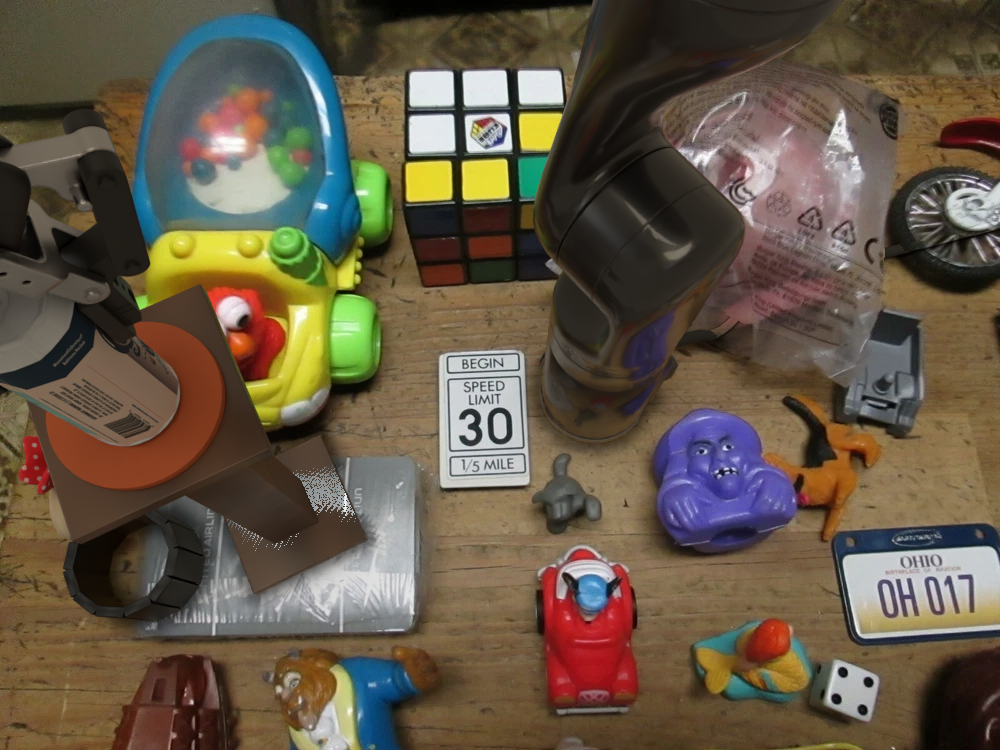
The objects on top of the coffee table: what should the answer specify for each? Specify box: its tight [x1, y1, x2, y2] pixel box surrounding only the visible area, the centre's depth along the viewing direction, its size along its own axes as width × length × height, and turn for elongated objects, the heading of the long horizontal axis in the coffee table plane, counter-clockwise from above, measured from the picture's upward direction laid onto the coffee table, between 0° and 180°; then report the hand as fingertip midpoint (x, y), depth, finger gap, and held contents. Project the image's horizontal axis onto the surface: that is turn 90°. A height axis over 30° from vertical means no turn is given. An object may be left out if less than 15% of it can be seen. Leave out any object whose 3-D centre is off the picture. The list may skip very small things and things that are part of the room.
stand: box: [25, 283, 369, 596], centre depth 56 cm, size 10×10×31 cm
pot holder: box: [46, 322, 225, 491], centre depth 41 cm, size 9×9×1 cm
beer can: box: [0, 289, 180, 446], centre depth 35 cm, size 5×5×12 cm
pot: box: [62, 508, 206, 623], centre depth 66 cm, size 9×9×6 cm
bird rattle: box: [17, 435, 73, 542], centre depth 67 cm, size 6×11×9 cm
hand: (59, 347), depth 34 cm, fingers closed on beer can, 4 cm apart
